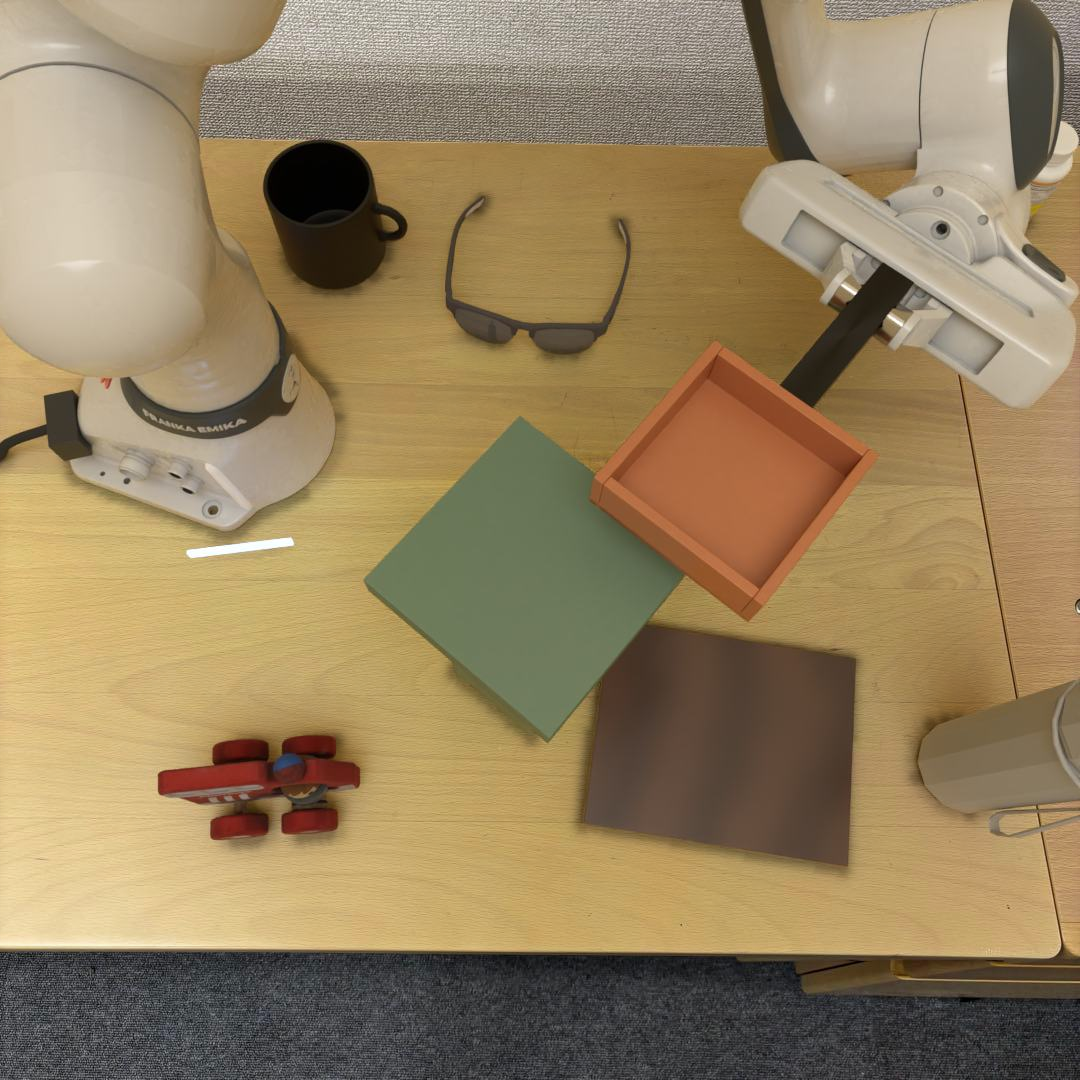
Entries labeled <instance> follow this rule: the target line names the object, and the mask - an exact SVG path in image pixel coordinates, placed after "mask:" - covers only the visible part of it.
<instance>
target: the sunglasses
mask: <svg viewBox="0 0 1080 1080" xmlns="http://www.w3.org/2000/svg"><path fill="white" fill-rule="evenodd" d="M485 199H486V197H485V195H481V196H480V197H478V198H477V199H476V200H475V201H473V202H472V203H471V204H470V205H468V206H467V207H466V208H465V209H464V210H463V212H462V213H461V214H460V216H459V217H458V219H457V220H456V223H455V225H454V228H453V231H452V235H451V237H450V238H451V239H450V244H449V249H448V254H447V255H448V256H447V263H446V271H445V281H444V292H445V298H444V299H445V300H444V301H445V308H446V309H447V310H448V311H449V312H450V313H451V314H452V317H453V319H454V320H455V321H456V323H457V325H458V326H459V327H460V328H461V329H462V330H463V332H465V333H467V334H468V335H470V336H472V337H473V338H475V339H477V340H480V341H483V342H485V343H490V344H498V345H501V344H506V343H508V342H510V341H511V340H513V339H514V338H515V337H516V335H517V334H518V331H519V330H521V331H526V332H528V338H529V339H531V341H532V342H533V344H534V345H535V346H536V347H538V348H539V349H540V350H542V351H544V352H546V353H550V354H555V355H572V354H573V355H574V354H578V353H582V352H584V351H586V350H588V349H590V348H591V347H592V346H593V345H594V343H596V342H597V340H598V339H599V338H600V337H603V336H605V335H606V334H607V331H608V329H609V326H610V324H611V322H612V321H613V319H614V316H615V314H616V311H617V309H618V307H619V304H620V301H621V297H622V294H623V291H624V288H625V283H626V279H627V275H628V271H629V268H630V267H629V266H630V262H631V254H632V253H631V252H632V244H631V237H630V235H629V232H628V229H627V227H626V225H625V222H624V219H623V218H618V229H619V232H620V233H621V236H622V237H623V239H624V243H625V250H626V251H625V252H626V253H625V262H624V267H623V271H622V274H621V277H620V281H619V284H618V287H617V289H616V291H615V294H614V297H613V299H612V301H611V304H610V306H609V308H608V309H607V311H606V313H605V315H603V317H602V321H601V322H527V321H521V320H518V319H513V318H511V317H508V316H505V315H502V314H499V313H496V312H494V311H490V310H488V309H484V308H480V307H478V306H475V305H472V304H470V303H466V302H464V301H461V300H458V299H456V298H454V297H453V287H452V282H453V281H452V276H453V271H454V262H455V261H454V260H455V252H456V244H457V241H458V240H457V238H458V235H459V232H460V229H461V227H462V225H463V224H464V222H465V220H466V218H468V216H469V215H470V214H472V213H473V212H475V211H477V209H479V208H480V207H481V206H482V205H483V203H484V201H485Z"/></svg>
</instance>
